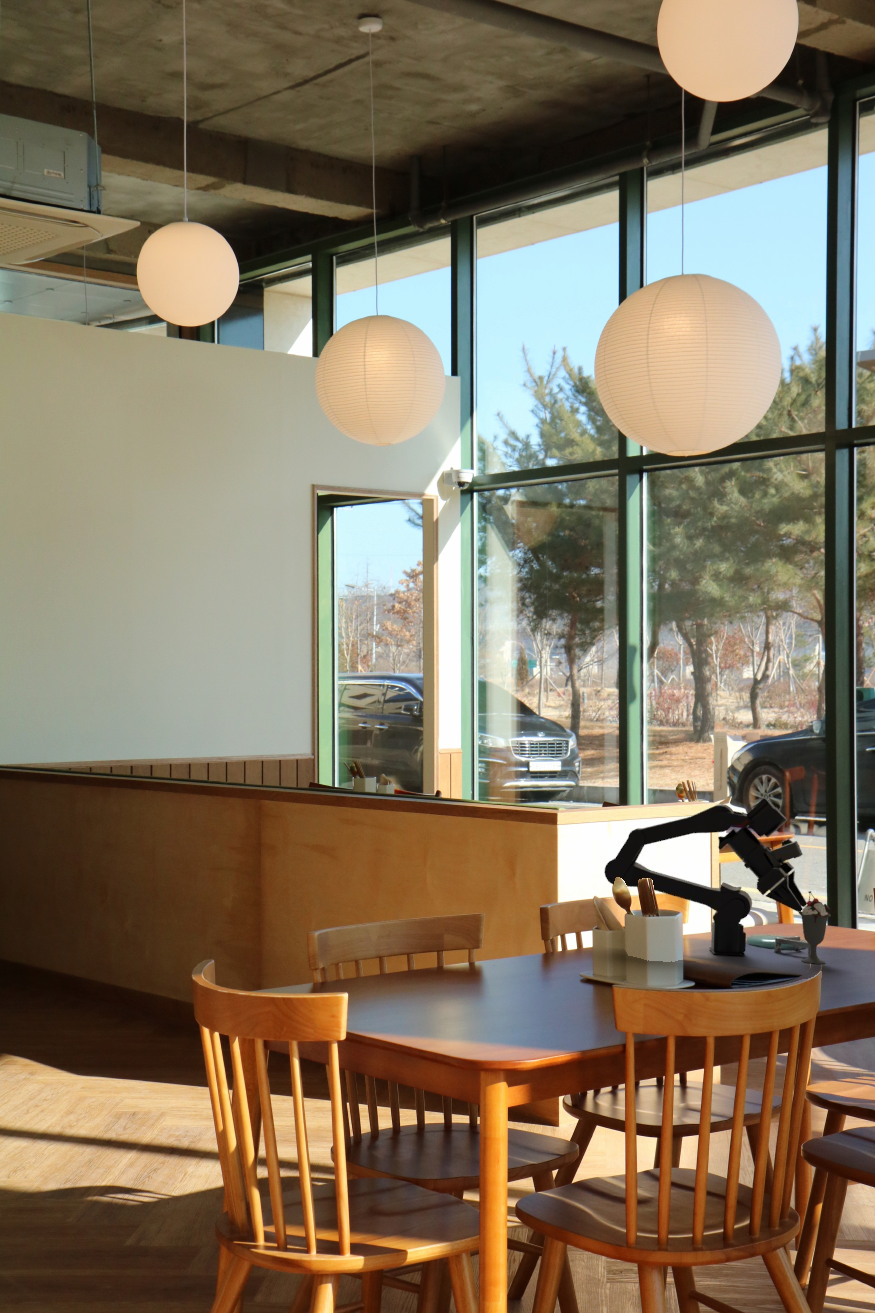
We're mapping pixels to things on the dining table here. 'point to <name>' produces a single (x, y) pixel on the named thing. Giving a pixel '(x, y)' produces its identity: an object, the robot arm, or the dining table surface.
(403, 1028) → the dining table surface
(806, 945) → the jointed flat metal bars
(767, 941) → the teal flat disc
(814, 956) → the sundae
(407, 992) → the dining table surface
